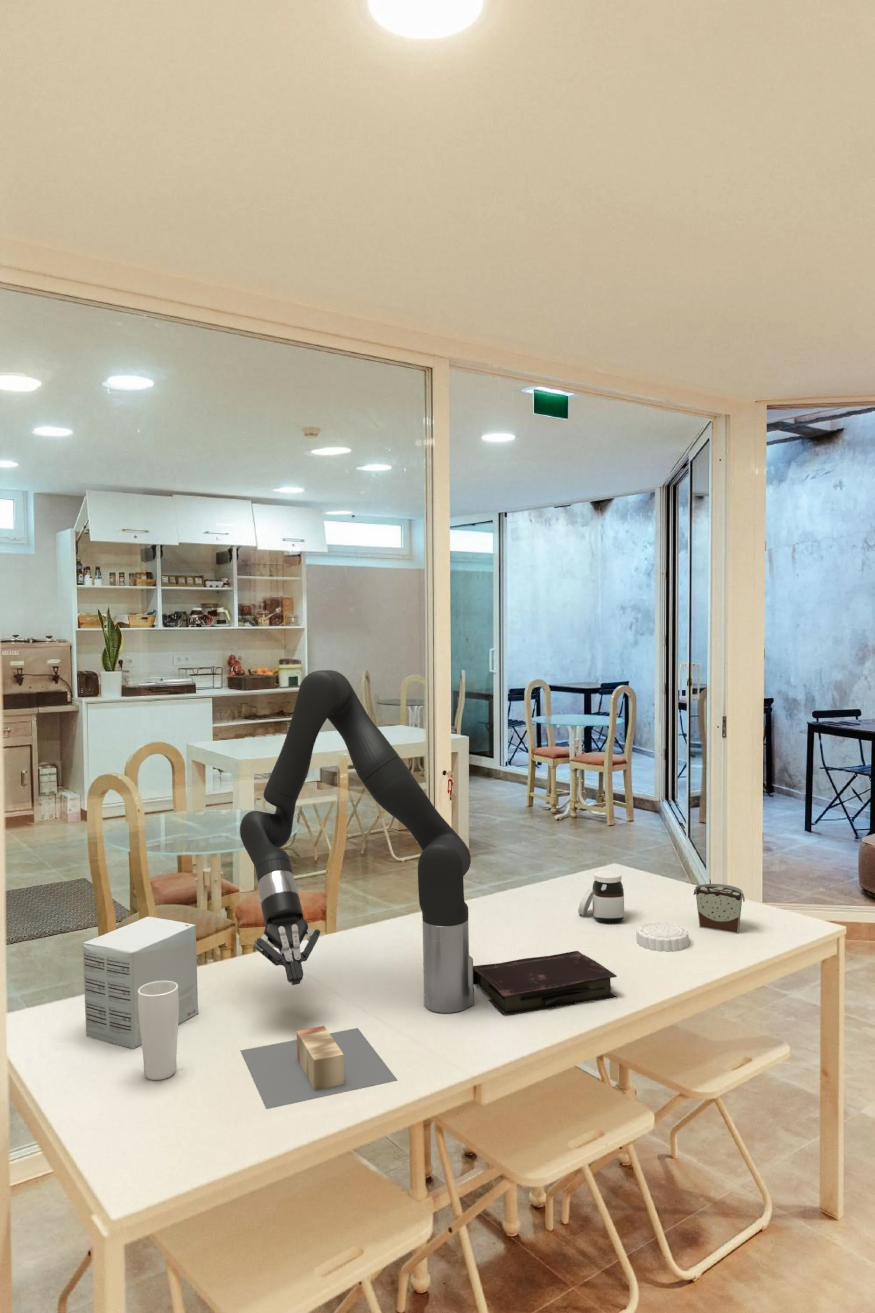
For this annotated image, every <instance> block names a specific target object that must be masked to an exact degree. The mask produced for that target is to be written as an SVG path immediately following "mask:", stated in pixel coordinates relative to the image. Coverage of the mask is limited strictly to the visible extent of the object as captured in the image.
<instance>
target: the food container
mask: <svg viewBox="0 0 875 1313" xmlns="http://www.w3.org/2000/svg"><path fill="white" fill-rule="evenodd" d="M694 888H695V889H694V891H693V896H695V897H696V898H695V899H696V906H697V907H696V908H697V909H696V910H697V917H698V926H699V928H700V929H704V930H705V929H706V930H712V931H718V932H725V933H730V934H739V932H740V926H741V925H740V924H741V915H742V914H741V913H742V904H743V903H744V902H745V900H746V899H745V894H744V892H743V890H742V889H741V888H739V887H736V886H733V885H729V884H725V883H724V884H723V883H705V884H699V885H696V886H695V887H694ZM742 902H743V903H742Z"/></svg>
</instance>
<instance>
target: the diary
mask: <svg viewBox="0 0 875 1313" xmlns="http://www.w3.org/2000/svg"><path fill="white" fill-rule="evenodd" d="M617 977H618V975H617V974H615V973H614V972H612V971H611V970H609V969H608V968H606V967H605V966H603V964H600V963H599V962H597V961H596V960H595V959H592V958H591V957H589V956H587V955H585V954H583V953H582V952H580V951H579V950H573V951H568V952H563V953H557V954H551V955H544V956H537V957H535V956H534V957H526V958H520V959H515V960H509V961H502V962H499V963H489V964H478V965H473V985H478V987H476V989H477V988H481V990H482V991H483V992H484V993H485V994H486V995H487V996H488V997H489V998H490V999H487V1002H489V1003H490V1004H491V1005H492V1006H493V1008H495V1010H497V1011H498V1012H499V1013H500V1014H501V1015H504V1016H514V1015H519V1014H520V1015H521V1014H526V1013H527V1014H528V1013H531V1012H532V1013H533V1012H539V1011H545V1010H550V1009H554V1008H559V1007H567V1006H574V1005H579V1004H581V1003H586V1002H587V1003H588V1002H596V1001H603V1000H609V999H616V998H618V996H617V995H615V994H614V992H613V993H612V992H611V990H612V989H611V988H612V987H611V979H613V978H617Z"/></svg>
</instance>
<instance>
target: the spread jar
mask: <svg viewBox="0 0 875 1313" xmlns="http://www.w3.org/2000/svg"><path fill="white" fill-rule="evenodd" d="M593 878H594V881H593V883H592V889H590V888H587V889H586V890H585V892H584V893H583V895H582V898H581V900H580V902H579V906H578V910H577V913H578V914H579V915H582V916H585V915H586V914H587V912H588V910H589V908H590V906H591V903H592V914H593V915H592V916H593V919H594V920H595V921H596V922H598V923H601V924H602V923H603V924H617V923H620V922H622V921H623V920H624V917H625V893H624V891H625V890H624V886H623V883H622V873H620V872H619V871H613V870H599V871H595V872H594V877H593Z"/></svg>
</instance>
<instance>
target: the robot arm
mask: <svg viewBox="0 0 875 1313" xmlns="http://www.w3.org/2000/svg"><path fill="white" fill-rule="evenodd" d="M294 703H295V704H294V709H293V713H292V716H291V720H290V722H289V726H288V729H287V733H286V736H285V739H284V742H283V745H282V747H281V750H280V753H279V755H278V757H277V759H276V762H275V765H274V766H273V769H272V771H271V773H270V775H269V778H268V780H267V783H266V784H265V788H264V790H263V798H264V800H265V802H267V803H268V804H270V805H272V806H274V807H275V812H274V813H272V812H266V811H262V810H251V811H249V812H247V813H246V814H245V815H244V816H243V817H242V819H241V822H240V826H239V835H240V840H241V842H242V845H243V846H244V849H245V850H246V852H247V855H248V857H249V858H250V860H251V862H252V863H253V865H254V867H255V873H256V878H257V886H258V894H259V895H258V896H259V904H260V907H261V912H262V917H263V923H264V931H263V935H262V936H261V937H258V938H257V939H256V941H255V945H254V948H255V950H256V951H258V952H259V953H260V954H261V955H262V956H264V957H265V958H266V959H267V960H269V962H271V963H272V964H273V965H274V966H276V967H278V966H283V967H284V968H285V969H284V970H285V974H286V975H285V976H286V980H287V982H288V983H291V986H295V985H301V982H302V980H303V978H304V970H303V965H302V962H303V963H304V962H307V961H308V958H309V957H310V955H311V953H312V951H313V949H314V948H315V946H316V944H317V942H318V940H319V938H320V935H321V930H320V929H318V928H317V929H315V930H314V929H312V928H310V927H309V924H308V922H306V920H305V918H304V913H303V910H302V908H303V907H302V904H301V899H300V895H299V890H298V885H297V882H296V880H295V878H294V873H293V869H292V865H291V859H290V857H289V854H288V853H287V852H286V851H285V850H284V849H282V847H284V846H285V845H286V844H287V843H288V842H289V840H290V838H291V836H292V832H293V824H294V816H295V811H296V810H295V809H296V804H297V801H298V798H299V796H300V793H301V791H302V789H303V786H304V784H305V782H306V779H307V777H308V774H309V770H310V766H311V761H312V756H313V751H314V747H315V744H316V740H317V739H318V735H319V733H320V731H321V729H322V727H323V725H324V724H325V722H326V720H327V719H328V721H329V722H330V723H331V724H332V726H333V727H334V728H335V729H336V730H337V732H338V734H339V735H340V736H341V738H342V740H343V742H344V744H345V747H346V749H347V751H348V754H349V757H350V760H351V764H352V765H353V767H354V770H355V772H356V774H357V776H358V778H359V780H360V781H361V782H362V784H363V785H364V787H365V788H366V789H367V791H368V792H369V794H370V795H371V797H372V798H373V799H374V800H375V802H376V803H377V804H378V805H379V806H380V807H381V808H382V809H383V810H385V811H386V813H388V814H389V815H391V816H392V817H394V818H395V819H396V820H397V821H398V822H400V823H401V824H402V825H403V826H404V827H405V828H406V829H407V830H408V831H409V832H410V834H411V835H412V836H413V837H414V840H415V841H416V843H417V844H418V846H419V847H420V849H421V850H422V852H421V853H420V855H419V858H418V862H417V888H418V889H417V890H418V903H419V907H420V910H421V915H422V916H421V918H422V919H421V920H422V921H421V922H422V956H423V958H422V959H423V960H422V963H423V967H422V968H423V972H422V973H423V1004H424V1005H423V1006H424V1007H425V1008H426V1009H427V1010H430V1011H431V1012H435V1013H442V1014H443V1013H444V1014H446V1013H447V1014H448V1013H449V1014H450V1013H457V1012H461V1011H464V1010H466V1009H467V1008H469V1007H471V1006H474V1005H475V1001H474V1000H475V996H474V990H475V989H474V988H475V987H474V985H473V966H474V959H473V957H472V956H471V955H470V941H469V940H470V938H469V937H470V936H469V935H470V933H469V906H468V904H467V903H466V902H465V890H464V884H465V883H464V876H465V875H466V874H467V872H468V871H469V870H470V867H471V861H472V858H471V857H472V856H471V854H470V853H471V852H470V849H469V847H468V846H467V845H466V843H465V841H464V840H463V839H462V838H461V837H460V836H459V835H458V833H457V832H456V831H455V830H454V829H453V827H451V825H450V824H449V823H448V821H446V820H445V819H444V817H442V815H441V813H439V811H438V810H437V808H435V806H434V805H433V803H432V801H431V800H430V798H429V796H428V795H427V794H426V792H425V791H424V790H423V788H422V787H421V785H420V784H419V782H418V781H417V779H416V778H415V777H414V775H413V773H412V772H411V770H410V769H409V767H408V766H407V764H406V763H405V762H404V760H403V759H402V757H401V756H400V755H399V753H398V752H397V751H396V749H394V747H393V746H392V744H391V743H390V742H389V740H388V738H386V736H385V735H384V734H383V733H382V732H381V730H380V728H378V727H377V725H376V724H375V723H374V721H373V720H372V719H371V717H370V716H369V713H367V711H366V709H365V707H364V705H363V704H362V703H361V700H360V699H359V697H358V695H357V693H356V692H355V690H354V688H353V687H352V685H351V683H350V681H349V680H348V678H346V676H345V675H343V673H341V672H339V671H337V670H332V669H326V670H325V669H324V670H323V669H321V670H314V671H312V672H309V673H308V674H307V675H306V676H304V678H303V679H302V681H301V683H300V686H299V689H298V692H297V696H296V699H295V702H294ZM305 936H307V937H306V940H307V944H306V945H305V947H304V949H303V951H302V952H301V944H302V942H303V940H304V938H305ZM270 944H271V945H272V946H271V945H270ZM275 948H276V949H275ZM277 949H278V951H277Z"/></svg>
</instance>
